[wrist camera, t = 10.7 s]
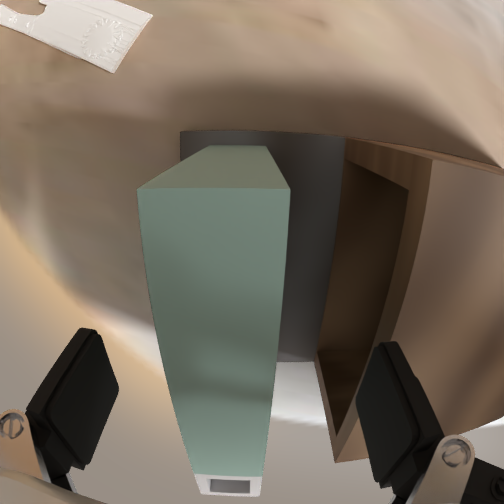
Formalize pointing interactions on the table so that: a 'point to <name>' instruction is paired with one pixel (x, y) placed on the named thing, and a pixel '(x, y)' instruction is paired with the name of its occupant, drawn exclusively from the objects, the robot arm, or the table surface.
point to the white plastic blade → (83, 28)
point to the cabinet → (388, 271)
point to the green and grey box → (218, 303)
